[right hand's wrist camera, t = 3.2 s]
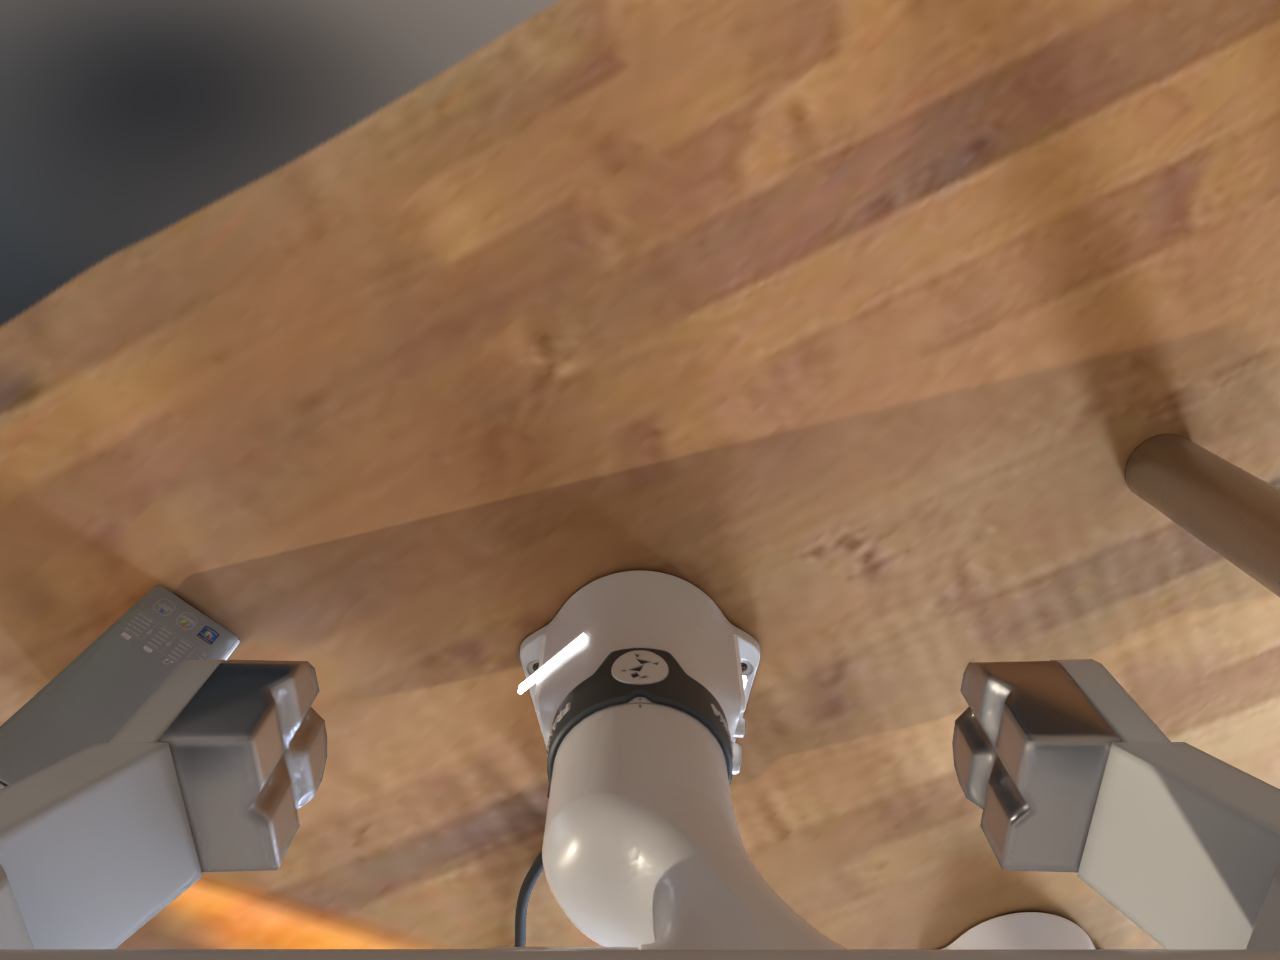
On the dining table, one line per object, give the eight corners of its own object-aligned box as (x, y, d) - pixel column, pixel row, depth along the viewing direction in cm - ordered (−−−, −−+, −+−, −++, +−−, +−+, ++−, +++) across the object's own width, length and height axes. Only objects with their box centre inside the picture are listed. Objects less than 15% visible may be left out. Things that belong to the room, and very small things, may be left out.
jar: (1148, 424, 60) (1340, 531, 43) (1210, 446, 60) (1421, 559, 44) (1111, 487, 61) (1282, 612, 45) (1171, 507, 62) (1361, 638, 46)
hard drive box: (158, 579, 64) (-38, 757, 46) (244, 636, 66) (90, 830, 47) (60, 704, 68) (-155, 914, 50) (144, 755, 70) (-33, 975, 52)
